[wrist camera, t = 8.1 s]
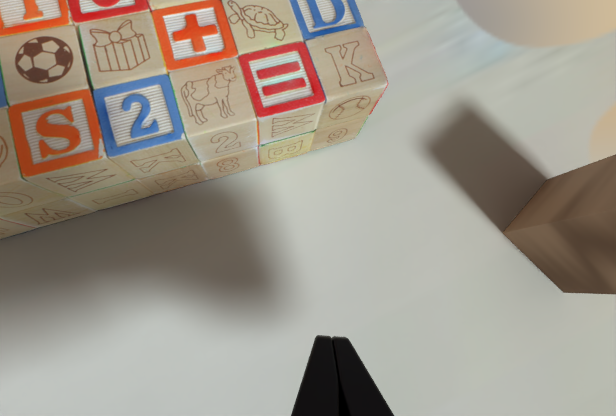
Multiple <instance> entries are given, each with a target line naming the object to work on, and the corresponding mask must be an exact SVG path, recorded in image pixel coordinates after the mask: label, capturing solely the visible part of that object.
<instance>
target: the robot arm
mask: <svg viewBox="0 0 616 416" xmlns="http://www.w3.org/2000/svg"><path fill="white" fill-rule="evenodd" d="M291 416H394V415H393V413H392V411H391V410H390V408H389V406H388V405H387V403H386V401H385V399H384V398H383V396H382V394H381V393H380V391H379V389H378V388H377V386H376V384H375V383H374V381H373V379H372V378H371V376H370V374H369V373H368V371H367V369H366V368H365V366H364V364H363V362H362V361H361V359H360V357H359V356H358V354H357V352H356V351H355V349H354V347H353V346H352V344H351V342H350V341H349V339H348V338H346V337H336V336H334V337H332V338H331V337H330V336H322V335H317V336H316V338H315V341H314V344H313V347H312V350H311V354H310V357H309V360H308V363H307V366H306V369H305V373H304V376H303V379H302V382H301V385H300V389H299V392H298V395H297V398H296V401H295V405H294V408H293V411H292V414H291Z"/></svg>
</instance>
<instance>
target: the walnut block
mask: <svg viewBox="0 0 616 416" xmlns="http://www.w3.org/2000/svg"><path fill="white" fill-rule="evenodd" d="M503 234H504V235H505V236H506V237H507V238H508V239H509V240H510V241H511V242H512V243H513V244H514V245H515V246H516V247H517V248H518V249H519V250H520V251H521V252H522V253H524V254H525V255H526V256H527V257H528V258H529V259H530V260H531V261H532V262H533V263H534V264H535V265H536V266H537V267H538V268H539V269H540V270H541V271H542V272H543V273H544V274H545V275H546V276H547V277H548V278H549V279H550V280H551V281H552V282H553V283H554V284H555V285H556V286H557V287H558V288H560V289H561V290H562V291H563V292H564V293H593V294H616V155H613V156H610V157H607V158H605V159H602V160H599V161H597V162H594V163H591V164H588V165H586V166H583V167H580V168H577V169H575V170H572V171H569V172H567V173H564V174H561V175H558V176H556V177H553V178H550V179H548V180H547V181H546V182H545V183H544V184H543V185H542V187H541V188H540V189H539V190H538V191H537V193H536V194H535V195H534V196H533V197H532V198H531V200H530V201H529V202H528V203H527V204H526V206H525V207H524V208H523V209H522V210H521V212H520V213H519V214H518V215H517V216H516V217H515V219H514V220H513V221H512V222H511V223H510V225H509V226H508V227H507V228H506V229H505V230H504V232H503Z"/></svg>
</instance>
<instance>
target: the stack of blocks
mask: <svg viewBox="0 0 616 416" xmlns="http://www.w3.org/2000/svg"><path fill="white" fill-rule="evenodd" d="M387 86H388V80H387V77H386V74H385V72H384V69H383V67H382V65H381V62H380V60H379V58H378V55H377V53H376V51H375V47H374V45H373V43H372V40H371V38H370V35H369V33H368V31H367V29H366V27H365V26H364V24H363V20H362V18H361V15H360V12H359V10H358V8H357V5H356V3H355V0H0V239H2V238H6V237H9V236H12V235H16V234H20V233H23V232H27V231H30V230H33V229H35V228H39V227H43V226H47V225H50V224H54V223H57V222H61V221H64V220H68V219H72V218H75V217H79V216H82V215H86V214H89V213H93V212H96V211H97V210H102V209H107V208H110V207H113V206H117V205H121V204H124V203H128V202H131V201H135V200H138V199H142V198H145V197H148V196H151V195H154V194H160V193H163V192H167V191H170V190H173V189H177V188H181V187H184V186H187V185H191V184H195V183H200V182H203V181H206V180H209V179H216V178H219V177H223V176H226V175H230V174H233V173H237V172H241V171H244V170H247V169H251V168H254V167H257V166H260V165H265V164H269V163H273V162H276V161H279V160H283V159H286V158H290V157H294V156H297V155H301V154H304V153H307V152H308V151H312V150H317V149H320V148H324V147H327V146H331V145H334V144H337V143H341V142H345V141H348V140H351V139H355V138H356V136H357V135H358V133H359V132H360V130H361V128H362V126H363V125H364V123H365V121H366V120H367V118H368V115H370V114H371V113H372V111H373V109H374V107H375V106H376V104H377V103H378V101H379V99H380V98H381V96H382V94H383V93H384V91H385V89H386V88H387Z"/></svg>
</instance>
